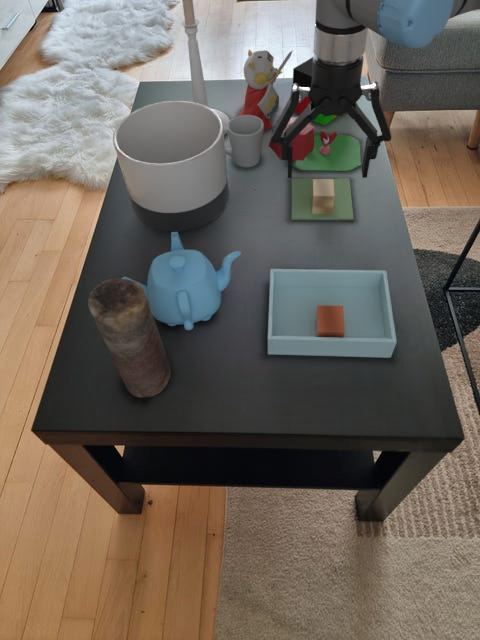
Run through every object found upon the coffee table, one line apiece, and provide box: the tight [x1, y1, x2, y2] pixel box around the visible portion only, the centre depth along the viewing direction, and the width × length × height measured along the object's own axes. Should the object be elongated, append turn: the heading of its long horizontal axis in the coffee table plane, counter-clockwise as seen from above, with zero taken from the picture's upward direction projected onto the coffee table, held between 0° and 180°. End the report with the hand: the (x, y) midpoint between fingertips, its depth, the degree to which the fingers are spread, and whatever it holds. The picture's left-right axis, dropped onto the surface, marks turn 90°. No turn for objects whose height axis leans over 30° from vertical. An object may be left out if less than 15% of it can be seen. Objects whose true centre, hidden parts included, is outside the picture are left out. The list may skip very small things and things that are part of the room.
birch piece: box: [311, 178, 335, 214], centre depth 94 cm, size 4×5×4 cm
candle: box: [87, 278, 172, 398], centre depth 67 cm, size 8×7×20 cm
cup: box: [223, 115, 264, 168], centre depth 103 cm, size 8×10×8 cm
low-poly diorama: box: [267, 116, 362, 172], centre depth 102 cm, size 15×20×9 cm
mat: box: [290, 178, 355, 221], centre depth 97 cm, size 12×12×1 cm
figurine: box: [238, 49, 293, 131], centre depth 109 cm, size 13×12×15 cm
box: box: [267, 268, 397, 359], centre depth 78 cm, size 19×14×4 cm
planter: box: [112, 100, 230, 232], centre depth 91 cm, size 19×19×18 cm
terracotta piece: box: [315, 305, 345, 338], centre depth 76 cm, size 4×5×4 cm
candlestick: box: [180, 0, 231, 136], centre depth 102 cm, size 13×13×30 cm
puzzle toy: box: [292, 56, 338, 126], centre depth 112 cm, size 10×10×10 cm
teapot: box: [121, 231, 242, 331], centre depth 79 cm, size 15×14×11 cm
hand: (326, 173), depth 89 cm, fingers open, 13 cm apart
